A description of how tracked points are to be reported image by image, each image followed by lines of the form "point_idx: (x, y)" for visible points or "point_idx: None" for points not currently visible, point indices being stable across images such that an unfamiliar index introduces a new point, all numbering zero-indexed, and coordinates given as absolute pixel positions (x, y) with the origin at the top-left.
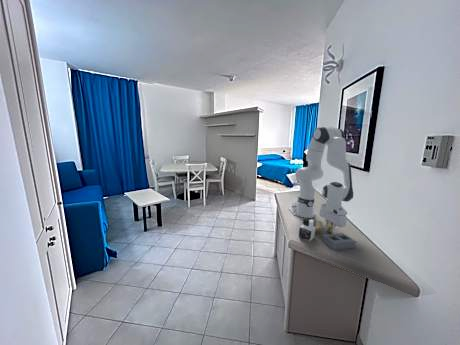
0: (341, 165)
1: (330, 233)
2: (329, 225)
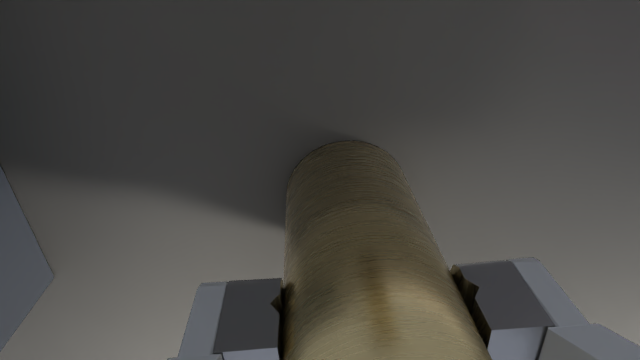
0: None
1: (287, 191)
2: (338, 328)
